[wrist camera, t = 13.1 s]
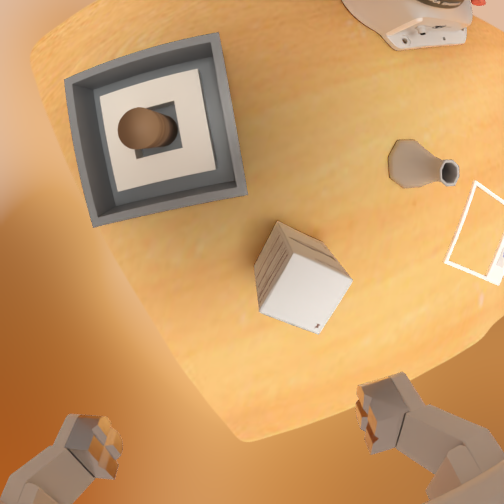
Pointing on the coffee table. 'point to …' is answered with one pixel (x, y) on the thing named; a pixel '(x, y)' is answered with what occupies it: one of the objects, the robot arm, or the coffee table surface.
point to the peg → (146, 129)
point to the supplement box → (299, 279)
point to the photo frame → (500, 263)
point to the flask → (419, 166)
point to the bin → (160, 158)
